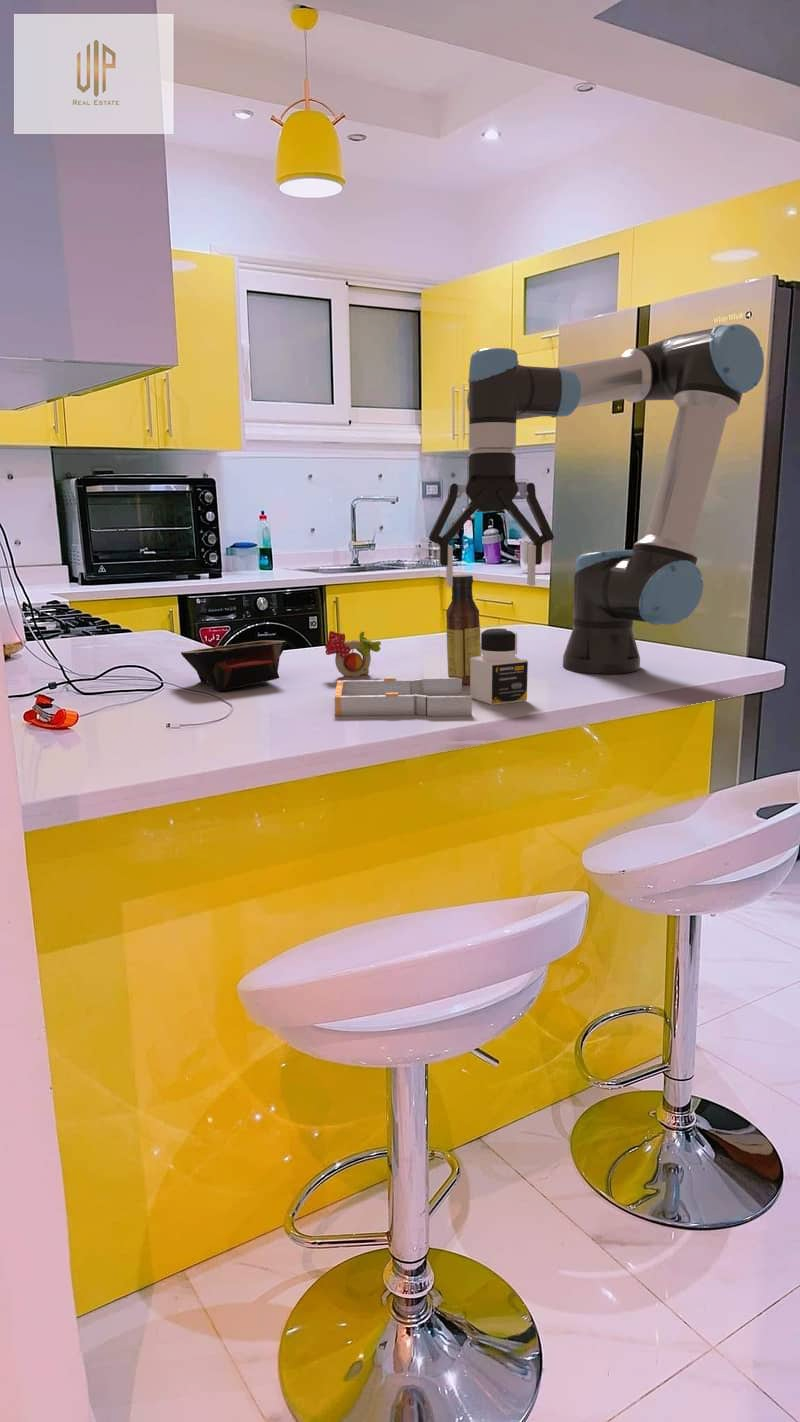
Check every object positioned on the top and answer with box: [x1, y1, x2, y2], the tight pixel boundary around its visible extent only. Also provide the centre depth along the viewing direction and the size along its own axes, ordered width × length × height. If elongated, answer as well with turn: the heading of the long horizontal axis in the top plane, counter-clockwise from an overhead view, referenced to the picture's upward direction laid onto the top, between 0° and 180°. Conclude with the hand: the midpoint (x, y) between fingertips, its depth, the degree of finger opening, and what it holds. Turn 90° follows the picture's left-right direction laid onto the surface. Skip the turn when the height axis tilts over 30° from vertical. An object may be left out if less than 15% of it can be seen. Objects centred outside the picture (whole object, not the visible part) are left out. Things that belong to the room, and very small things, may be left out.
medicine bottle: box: [469, 628, 529, 706], centre depth 155 cm, size 7×7×12 cm
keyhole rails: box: [334, 676, 473, 717], centre depth 152 cm, size 22×16×3 cm
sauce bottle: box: [445, 574, 482, 686], centre depth 169 cm, size 6×6×20 cm
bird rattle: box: [324, 630, 382, 678], centre depth 176 cm, size 6×11×9 cm, turn 126°
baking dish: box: [180, 640, 288, 692], centre depth 169 cm, size 14×18×10 cm
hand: (490, 585), depth 152 cm, fingers open, 13 cm apart
